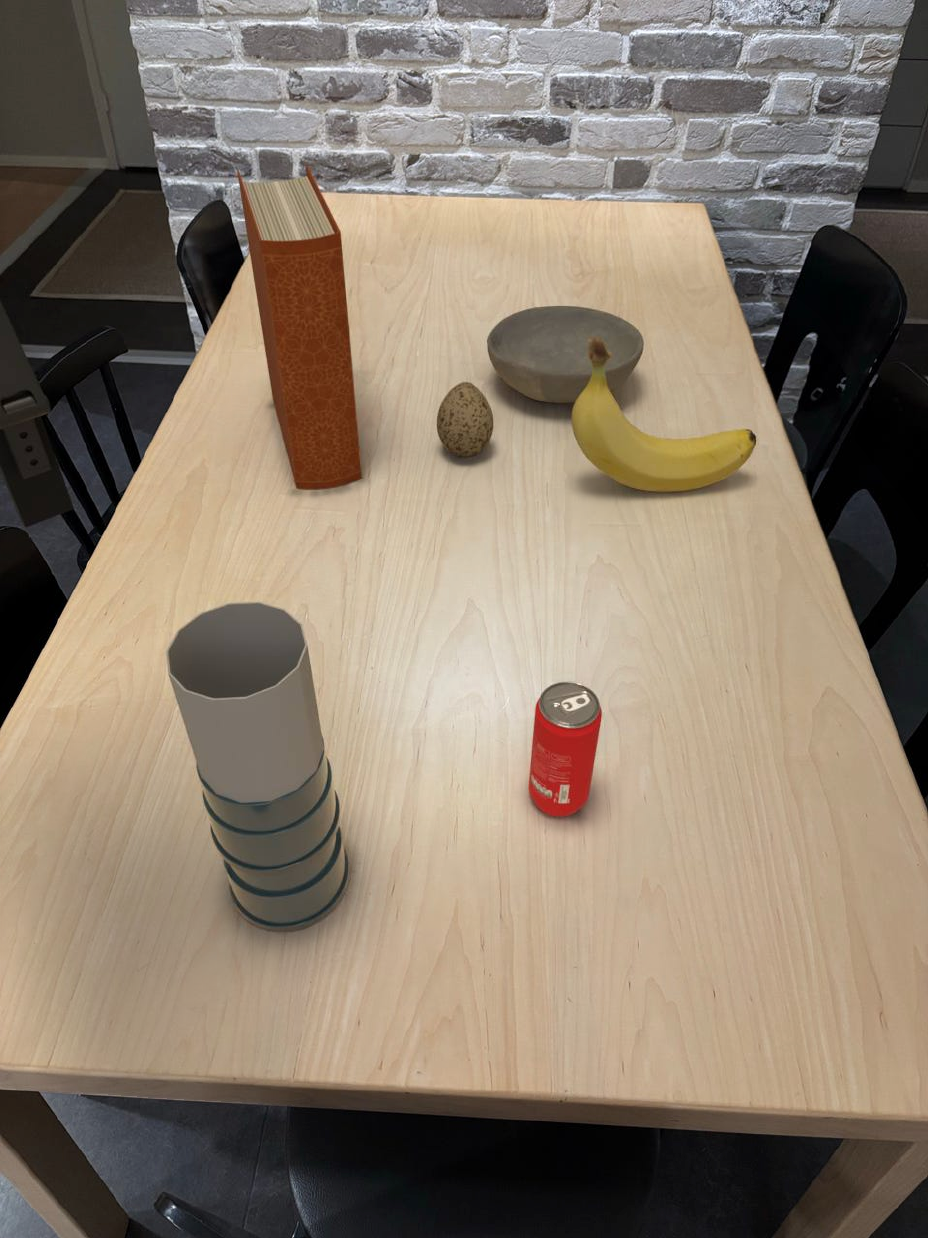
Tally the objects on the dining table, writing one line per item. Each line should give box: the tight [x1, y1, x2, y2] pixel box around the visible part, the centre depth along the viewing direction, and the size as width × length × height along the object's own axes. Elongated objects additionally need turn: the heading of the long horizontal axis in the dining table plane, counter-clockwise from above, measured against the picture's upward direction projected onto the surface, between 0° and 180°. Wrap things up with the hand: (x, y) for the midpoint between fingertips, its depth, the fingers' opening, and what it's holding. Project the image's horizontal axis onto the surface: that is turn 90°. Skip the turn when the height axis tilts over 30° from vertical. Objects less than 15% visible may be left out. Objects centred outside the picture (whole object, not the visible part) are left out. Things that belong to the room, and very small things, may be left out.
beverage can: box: [528, 681, 603, 818], centre depth 75 cm, size 5×5×12 cm
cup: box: [165, 601, 325, 803], centre depth 58 cm, size 8×8×10 cm
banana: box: [571, 337, 757, 493], centre depth 105 cm, size 23×6×20 cm, turn 96°
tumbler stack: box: [195, 735, 350, 933], centre depth 67 cm, size 9×9×16 cm
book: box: [236, 164, 363, 490], centre depth 109 cm, size 23×8×30 cm, turn 16°
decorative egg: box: [436, 381, 494, 458], centre depth 114 cm, size 7×7×10 cm
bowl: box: [486, 305, 645, 404], centre depth 127 cm, size 21×21×8 cm
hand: (3, 462), depth 54 cm, fingers open, 13 cm apart
